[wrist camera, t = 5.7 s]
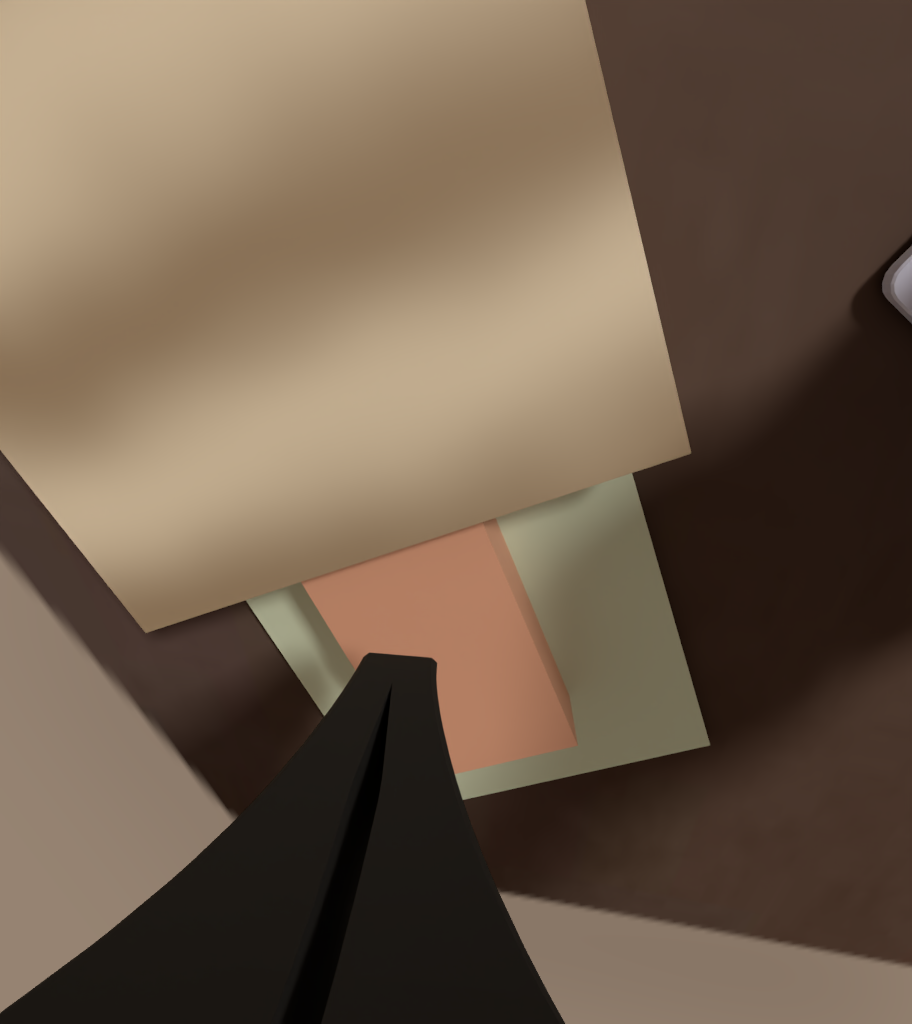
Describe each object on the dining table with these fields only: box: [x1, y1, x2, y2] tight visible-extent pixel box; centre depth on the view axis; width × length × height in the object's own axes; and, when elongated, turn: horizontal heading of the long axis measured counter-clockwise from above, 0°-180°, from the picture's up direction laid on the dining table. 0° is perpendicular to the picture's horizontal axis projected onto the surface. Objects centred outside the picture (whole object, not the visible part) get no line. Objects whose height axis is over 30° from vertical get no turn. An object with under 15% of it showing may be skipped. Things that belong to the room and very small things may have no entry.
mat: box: [246, 473, 710, 800], centre depth 18 cm, size 12×12×1 cm
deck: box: [0, 0, 691, 633], centre depth 12 cm, size 14×14×3 cm
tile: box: [301, 518, 578, 774], centre depth 17 cm, size 8×5×2 cm, turn 22°
